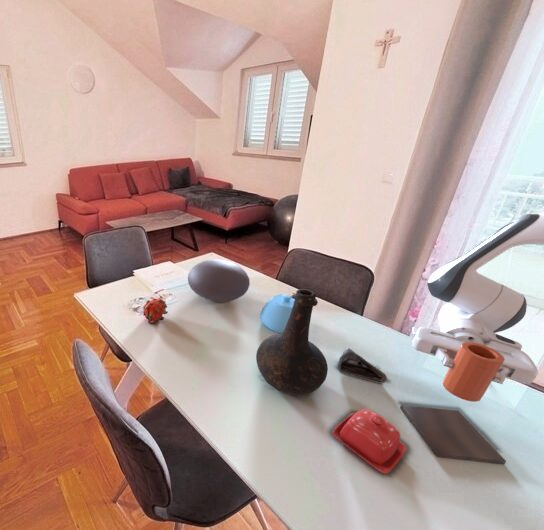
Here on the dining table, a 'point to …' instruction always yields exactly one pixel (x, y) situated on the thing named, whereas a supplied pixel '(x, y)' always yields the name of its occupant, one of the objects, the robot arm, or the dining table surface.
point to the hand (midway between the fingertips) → (473, 372)
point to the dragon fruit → (154, 309)
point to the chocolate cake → (359, 367)
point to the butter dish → (371, 439)
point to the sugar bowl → (277, 312)
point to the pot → (472, 371)
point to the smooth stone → (218, 280)
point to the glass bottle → (293, 352)
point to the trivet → (451, 434)
